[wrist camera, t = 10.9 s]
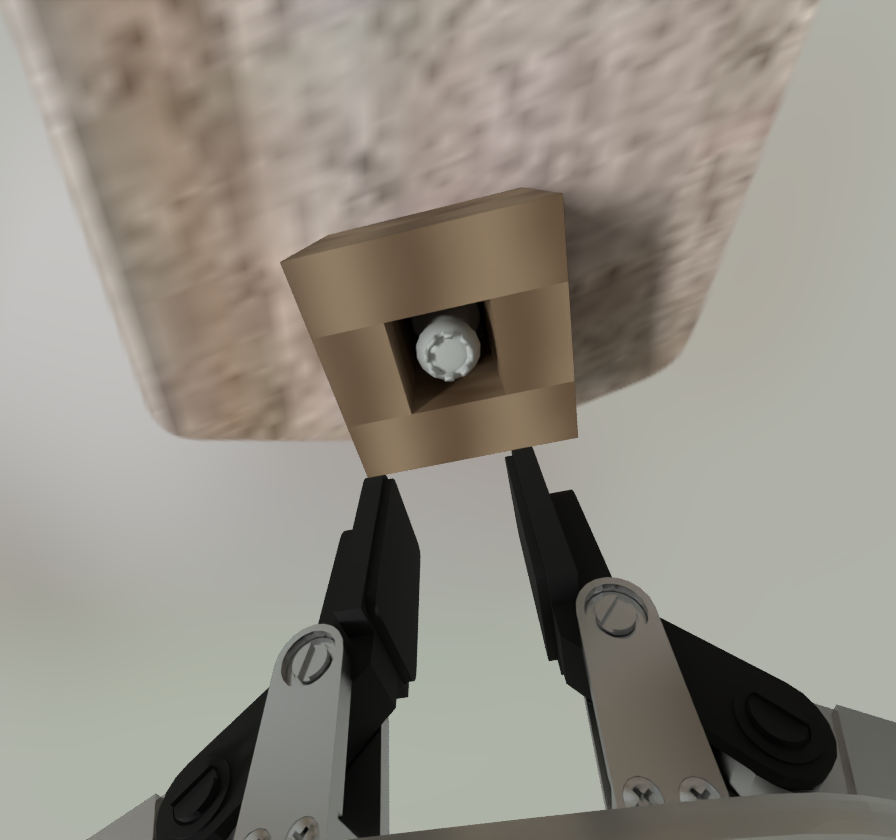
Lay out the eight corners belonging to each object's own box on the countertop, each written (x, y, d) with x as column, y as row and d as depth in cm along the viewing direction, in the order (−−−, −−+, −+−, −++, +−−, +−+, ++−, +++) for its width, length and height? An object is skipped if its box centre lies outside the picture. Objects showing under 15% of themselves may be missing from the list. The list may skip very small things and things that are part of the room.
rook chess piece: (415, 269, 25) (408, 304, 18) (485, 282, 26) (504, 320, 19) (406, 338, 28) (398, 392, 21) (471, 348, 28) (484, 404, 21)
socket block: (521, 187, 24) (562, 193, 16) (541, 370, 30) (578, 437, 22) (327, 235, 25) (280, 262, 17) (384, 402, 31) (367, 478, 23)
